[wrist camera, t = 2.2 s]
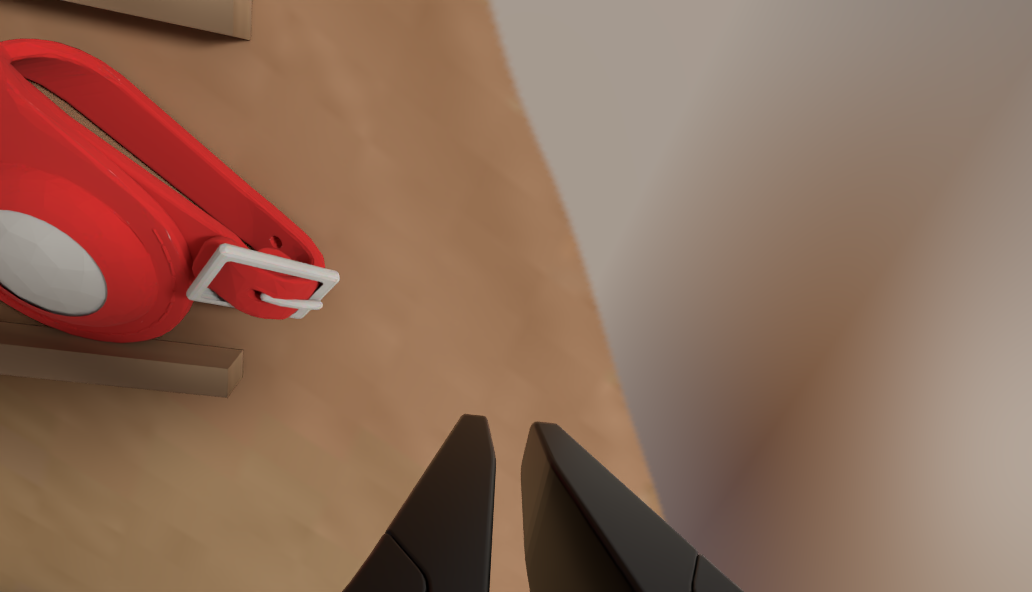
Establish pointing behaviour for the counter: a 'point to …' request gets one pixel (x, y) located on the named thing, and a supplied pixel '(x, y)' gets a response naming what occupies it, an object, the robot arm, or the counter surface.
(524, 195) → the counter surface
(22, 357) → the guide channel
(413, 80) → the counter surface
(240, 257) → the tracker holder
